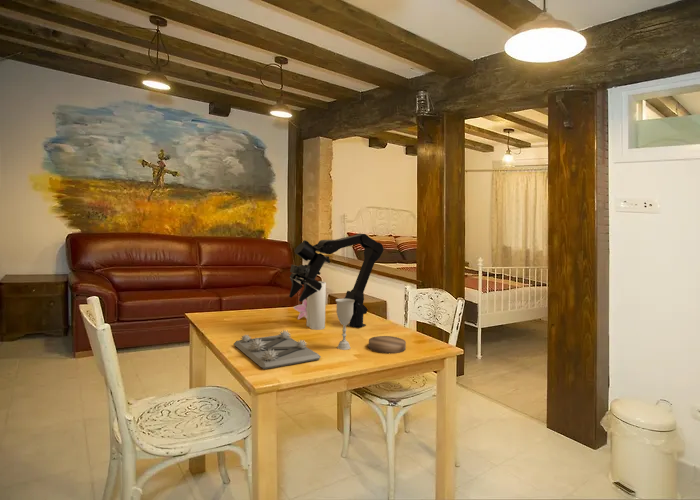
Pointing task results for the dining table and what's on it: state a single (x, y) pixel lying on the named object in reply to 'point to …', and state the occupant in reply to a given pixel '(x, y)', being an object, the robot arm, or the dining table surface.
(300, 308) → the lily
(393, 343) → the walnut pedestal
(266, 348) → the decorative plate
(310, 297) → the vase
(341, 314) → the chalice
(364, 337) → the dining table surface
